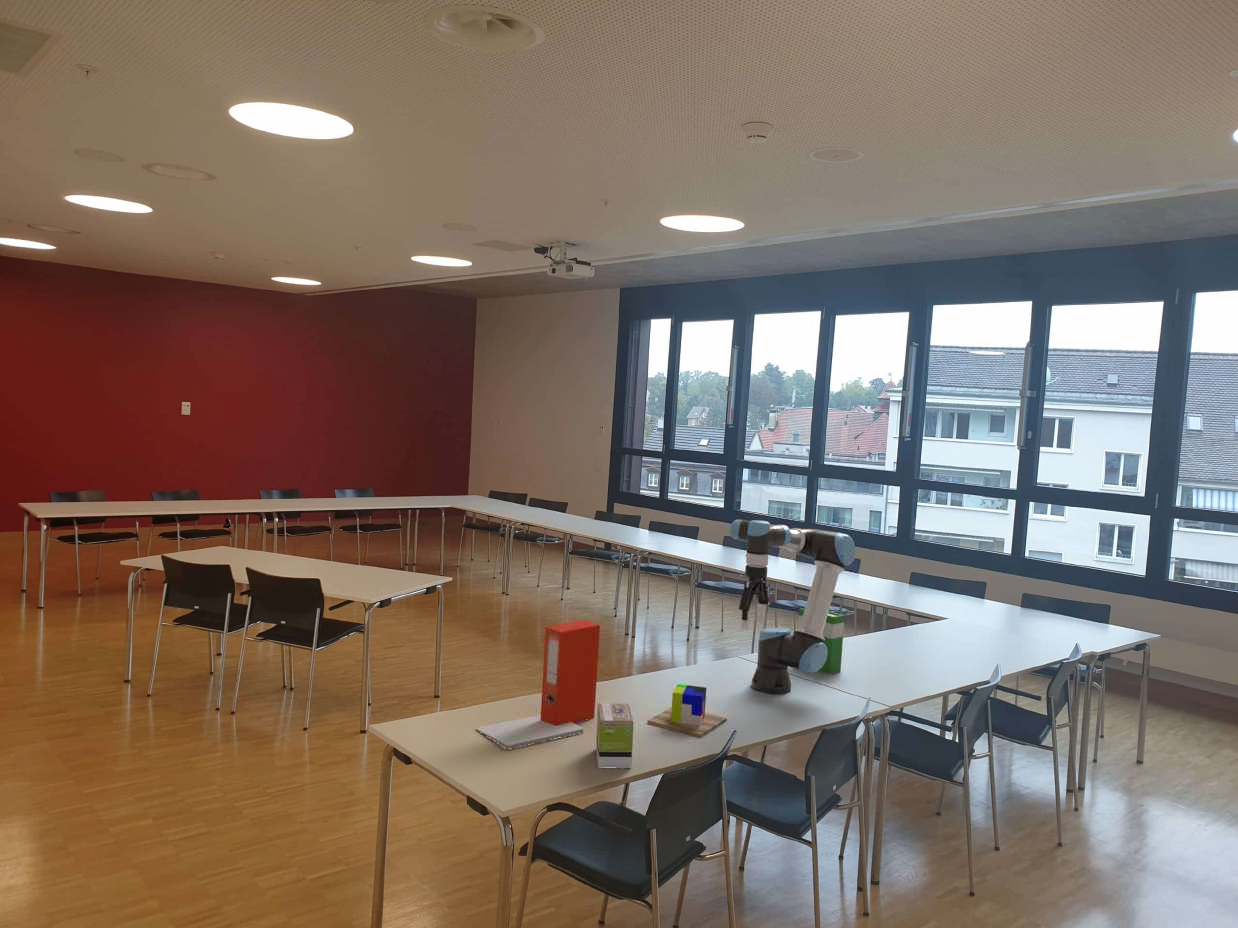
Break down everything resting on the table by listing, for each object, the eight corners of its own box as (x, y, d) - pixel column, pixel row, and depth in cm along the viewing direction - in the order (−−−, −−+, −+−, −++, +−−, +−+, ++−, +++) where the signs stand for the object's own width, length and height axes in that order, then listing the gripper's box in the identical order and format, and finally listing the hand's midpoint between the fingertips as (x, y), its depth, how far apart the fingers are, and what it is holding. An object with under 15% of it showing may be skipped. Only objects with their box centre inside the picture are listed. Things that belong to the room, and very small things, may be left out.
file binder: (594, 718, 296) (599, 624, 294) (556, 729, 284) (561, 632, 282) (578, 711, 302) (583, 619, 300) (540, 722, 290) (545, 626, 288)
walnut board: (675, 707, 311) (675, 704, 311) (727, 720, 301) (727, 717, 301) (647, 722, 294) (647, 720, 294) (701, 737, 284) (701, 734, 284)
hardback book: (795, 663, 376) (799, 608, 374) (806, 661, 381) (810, 606, 379) (829, 674, 363) (833, 617, 361) (840, 671, 367) (844, 615, 366)
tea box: (594, 748, 270) (597, 701, 269) (627, 749, 270) (629, 702, 270) (597, 769, 255) (600, 719, 254) (632, 769, 255) (634, 719, 255)
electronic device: (507, 751, 265) (507, 745, 265) (475, 730, 280) (475, 724, 280) (584, 734, 282) (584, 728, 282) (550, 715, 298) (550, 709, 298)
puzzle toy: (700, 725, 292) (702, 696, 291) (670, 721, 294) (672, 692, 293) (704, 715, 301) (706, 687, 301) (675, 712, 304) (677, 683, 303)
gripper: (760, 559, 317) (756, 617, 318) (731, 568, 296) (727, 630, 297) (780, 562, 313) (776, 621, 314) (752, 571, 292) (748, 634, 293)
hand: (752, 625), depth 306 cm, fingers open, 13 cm apart
